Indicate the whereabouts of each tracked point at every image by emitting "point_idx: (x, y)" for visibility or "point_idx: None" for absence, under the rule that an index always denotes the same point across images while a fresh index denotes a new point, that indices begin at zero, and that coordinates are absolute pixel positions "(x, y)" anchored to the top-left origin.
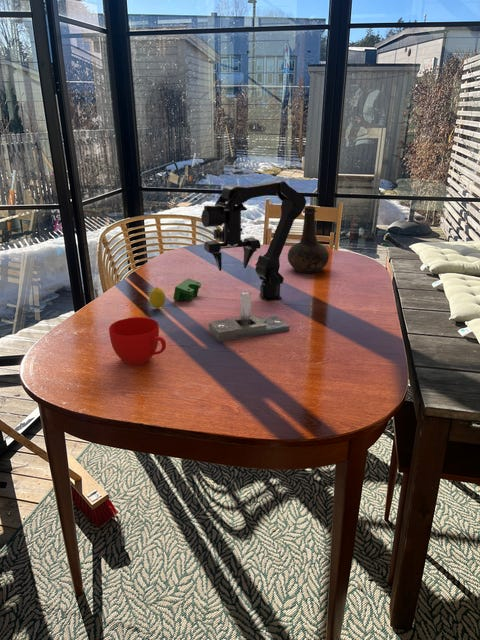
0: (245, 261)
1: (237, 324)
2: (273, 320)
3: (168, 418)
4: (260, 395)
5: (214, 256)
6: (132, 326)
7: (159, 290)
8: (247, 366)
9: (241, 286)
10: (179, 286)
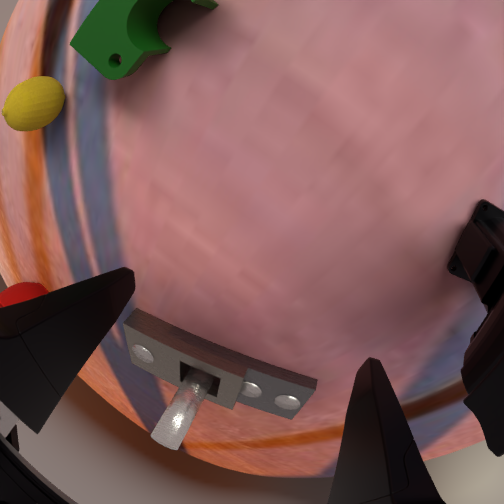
0: (350, 436)
1: (177, 373)
2: (282, 397)
3: (85, 379)
4: (155, 420)
5: (5, 320)
6: (11, 297)
7: (11, 123)
8: (161, 402)
9: (498, 34)
10: (84, 36)
